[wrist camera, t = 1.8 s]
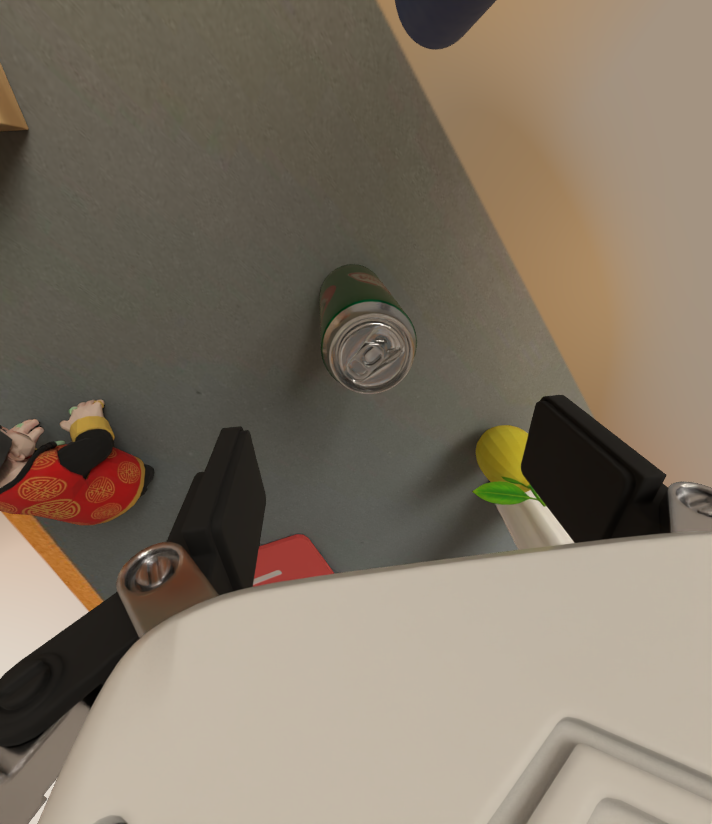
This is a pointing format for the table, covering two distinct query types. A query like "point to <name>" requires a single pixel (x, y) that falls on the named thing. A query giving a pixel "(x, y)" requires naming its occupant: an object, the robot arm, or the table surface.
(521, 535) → the cup
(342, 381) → the soda can
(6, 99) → the wooden block
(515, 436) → the lemon
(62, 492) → the figurine
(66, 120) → the table surface
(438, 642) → the robot arm
